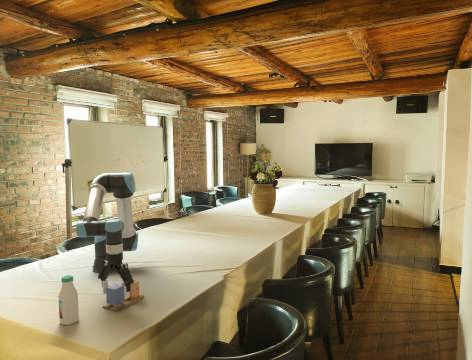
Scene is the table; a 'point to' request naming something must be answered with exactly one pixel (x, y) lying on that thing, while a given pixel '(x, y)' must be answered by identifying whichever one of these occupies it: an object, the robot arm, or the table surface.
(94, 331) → the table surface
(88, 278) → the table surface
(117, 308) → the organizer
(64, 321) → the milk bottle
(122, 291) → the slate blue cube
